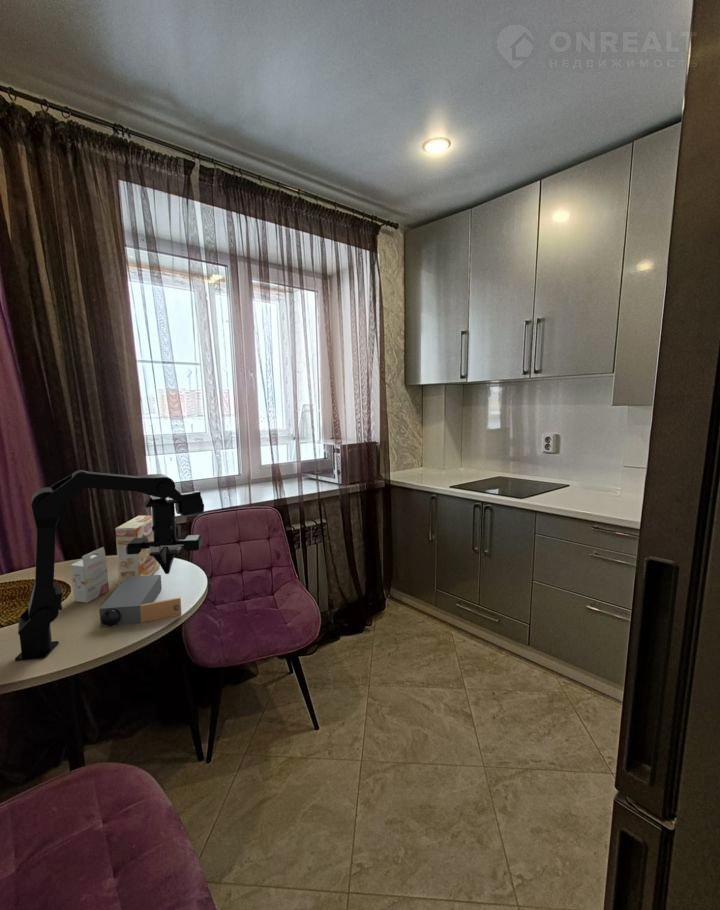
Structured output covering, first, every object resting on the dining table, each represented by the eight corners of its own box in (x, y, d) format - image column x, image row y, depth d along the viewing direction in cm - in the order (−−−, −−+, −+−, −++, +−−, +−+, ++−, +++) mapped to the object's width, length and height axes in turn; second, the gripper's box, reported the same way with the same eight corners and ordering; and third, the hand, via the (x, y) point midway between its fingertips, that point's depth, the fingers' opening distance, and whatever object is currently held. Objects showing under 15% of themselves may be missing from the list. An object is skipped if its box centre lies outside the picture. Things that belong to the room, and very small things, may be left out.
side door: (141, 623, 113) (140, 607, 112) (141, 621, 114) (140, 604, 114) (181, 615, 118) (180, 599, 117) (181, 612, 119) (180, 597, 118)
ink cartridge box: (96, 588, 134) (92, 545, 132) (109, 590, 133) (106, 546, 131) (73, 601, 125) (68, 555, 123) (87, 603, 124) (82, 556, 122)
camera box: (138, 625, 113) (137, 607, 112) (98, 628, 111) (97, 610, 110) (161, 589, 133) (160, 574, 133) (128, 591, 132) (126, 576, 131)
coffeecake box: (140, 585, 136) (136, 528, 133) (118, 585, 136) (113, 528, 133) (161, 567, 151) (157, 515, 148) (141, 567, 151) (137, 514, 148)
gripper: (204, 510, 125) (207, 560, 127) (137, 513, 121) (141, 564, 124) (197, 521, 114) (200, 575, 116) (123, 525, 111) (127, 580, 113)
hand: (167, 573), depth 117 cm, fingers closed
